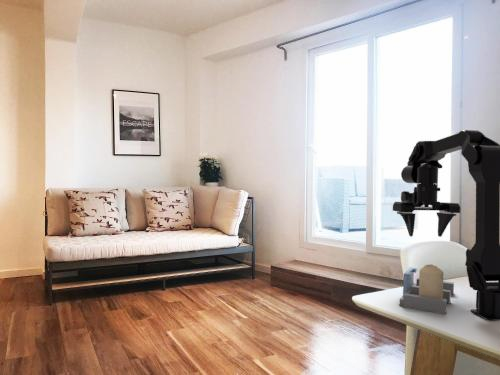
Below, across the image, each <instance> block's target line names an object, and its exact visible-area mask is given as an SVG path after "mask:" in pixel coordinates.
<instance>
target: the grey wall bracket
mask: <svg viewBox="0 0 500 375" xmlns="http://www.w3.org/2000/svg"><path fill="white" fill-rule="evenodd" d="M417 270H418V269H417V267H412V266H411V267H409V268H408V269H407V270H405V272H404V273H403V283H402V284H403V285H402V287H403V288H402V296H401V297H400V298H399V306H400V307H402V308H406V309H413V310H417V311H418V310H419V311H424V312H430V313H436V314H444V315H446V313H447V304H450V303H451V296H452V295H454V292H455V291H454V290H455V282H451V281H445V280H443V299H441V298H434V297H427V296H421V295H419V277H417V278H416V283H414V280H415V279H414V274H415V273H417V272H418V271H417ZM450 294H451V295H450Z"/></svg>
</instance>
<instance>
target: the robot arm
mask: <svg viewBox="0 0 500 375" xmlns="http://www.w3.org/2000/svg"><path fill="white" fill-rule="evenodd" d="M458 151H461V155H462V157H463V158H464V159H465V160H466V161H467V166H468V173H469V175H470V176H471V177H472V179H473V181H474V182H475V243H474V245H473V246H472V247H471V248H467V249H466V251H465V258H466V259H465V263H464V264H465V265H464V266H466V274H467V279H468V283H469V287H470V288H471V289H472V290H474V291H476V293H475V294H476V296H475V298H476V299H475V308H471V309H470V312H471V313H473V314H475V315H477V316H479V317H481V318H484V319H486V320H489V321H500V143H498V142H497V141H496V140H495V141H494V140H493V139H492V138H489V137H487V136H486V135H485V134H484V133H483V132H482V131H480V130H473V129H463V130H460V131H459V132H456V133H454V134H451V135H448V136H445V137H443V138H440V139H436V140H419V141H417V142H416V143H415V145H414V146H413V149H412V151H411V154H410V155H409V157H408V161H407V163H406V164H407V165H406V166H404V167H403V169H402V170H401V173H400V176H401V179H402V181H404V183H406V184H416V186H414V188H413V192H410V191H409V190H407V191H405V190H404V191H401V193H400V201H395V202H393V204H392V211H393V212H394V211H395V212H396V215H400V217H401V218H402V219H403V221H404V224H405V226H406V229H407V233H408V235H409V237H413V236H414V230H415V221H416V213H414V211H436V216H437V218H438V219H437V237H440V238H442V237H443V234H444V233H445V231H446V229H447V227H448V225H449V224H450V222H451V220H453V218H454V217H456V216H457V214H461V206H460V203H457V202H443V201H442V202H440V201H438V192H441V187H438V186H439V185H438V182H439V169H443V165H442V163H440V162H439V161H441V160H442V159H444V158H446V155H448V154H450V153H454V152H458ZM437 211H438V212H437Z"/></svg>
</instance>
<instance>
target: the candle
mask: <svg viewBox="0 0 500 375" xmlns="http://www.w3.org/2000/svg"><path fill="white" fill-rule="evenodd" d="M418 276H419V277H418V278H419V295H421V296H427V297H434V298H441V299H443V281H444V271H443V270H442V269H441V268H439V267H438V266H436V265H434V264H425V265H424V266H423V267H422V268H420V269H419V275H418Z"/></svg>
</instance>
